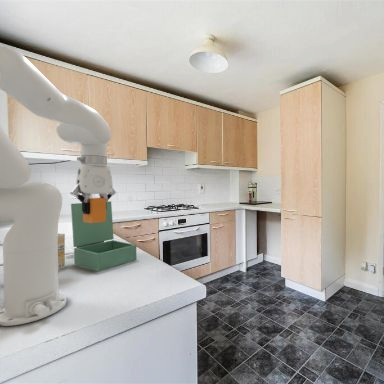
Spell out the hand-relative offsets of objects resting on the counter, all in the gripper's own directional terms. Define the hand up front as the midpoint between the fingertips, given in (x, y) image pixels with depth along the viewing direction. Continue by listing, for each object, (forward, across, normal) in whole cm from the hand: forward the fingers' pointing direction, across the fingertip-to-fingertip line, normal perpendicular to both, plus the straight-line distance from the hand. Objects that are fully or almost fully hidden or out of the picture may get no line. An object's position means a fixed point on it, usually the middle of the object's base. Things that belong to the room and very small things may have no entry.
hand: (94, 212), depth 82 cm
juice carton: (+3, 0, 0) cm, 3 cm away
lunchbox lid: (+5, +6, +12) cm, 15 cm away
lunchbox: (+21, +6, +4) cm, 22 cm away
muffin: (+21, +10, +23) cm, 33 cm away
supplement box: (+21, -9, +12) cm, 26 cm away
